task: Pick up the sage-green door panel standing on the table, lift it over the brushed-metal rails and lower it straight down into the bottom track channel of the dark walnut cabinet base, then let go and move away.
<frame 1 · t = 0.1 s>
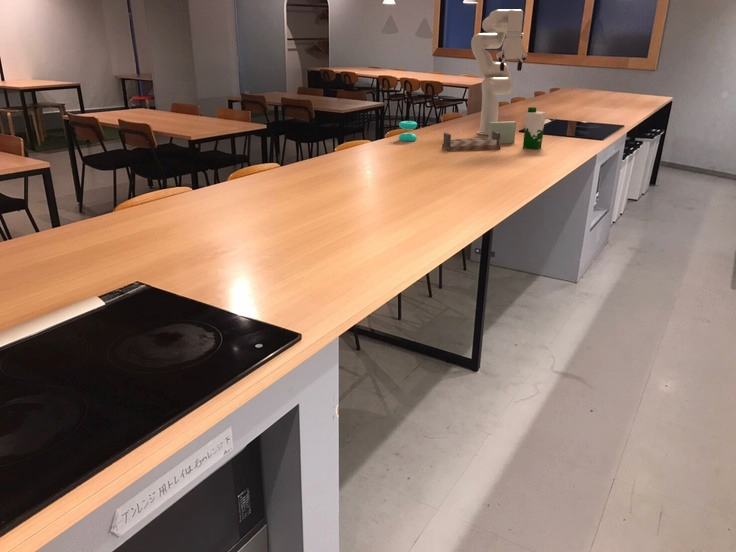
hand: (510, 70, 306), 37 cm above the kitchen counter, tool pointing down, fingers open, 9 cm apart
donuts: (407, 140, 323), on the kitchen counter
track base: (470, 148, 300), on the kitchen counter
milk carton: (532, 148, 302), on the kitchen counter
door panel: (501, 142, 315), on the kitchen counter
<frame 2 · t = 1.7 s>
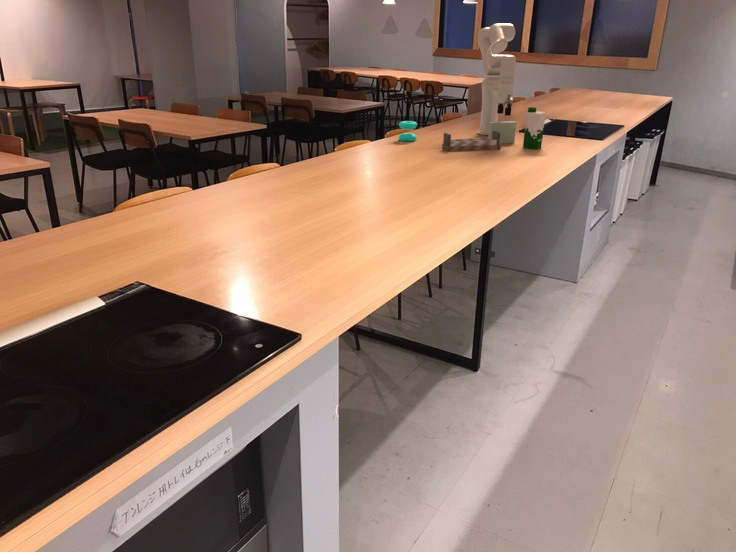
hand: (503, 114, 309), 15 cm above the kitchen counter, tool pointing down, fingers open, 9 cm apart
nothing on the kitchen counter moved.
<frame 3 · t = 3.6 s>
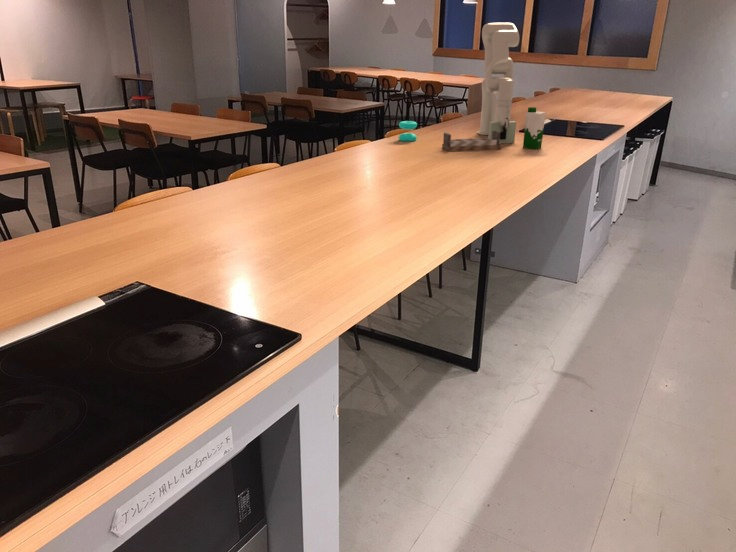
hand: (501, 138, 315), 2 cm above the kitchen counter, tool pointing down, fingers closed on door panel, 3 cm apart
door panel: (501, 142, 315), on the kitchen counter, touching gripper
everything else where it was.
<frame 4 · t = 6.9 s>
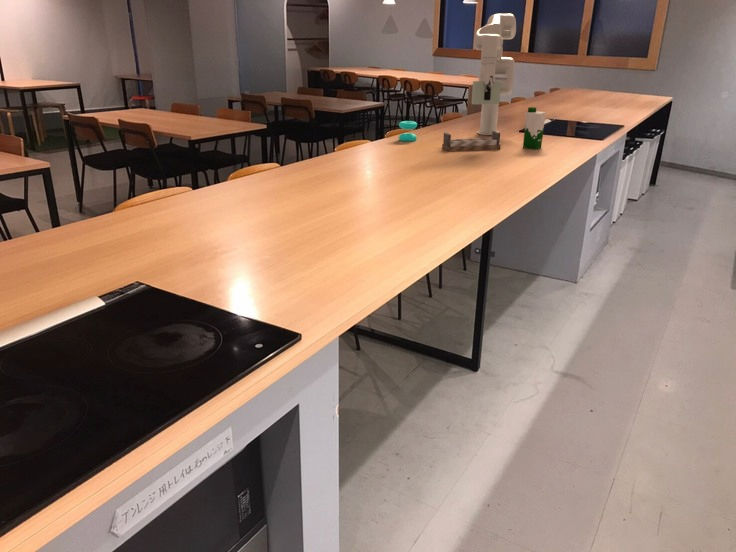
hand: (485, 99, 296), 24 cm above the kitchen counter, tool pointing down, fingers closed on door panel, 3 cm apart
door panel: (485, 103, 297), point 22 cm above the kitchen counter, touching gripper
everything else where it was.
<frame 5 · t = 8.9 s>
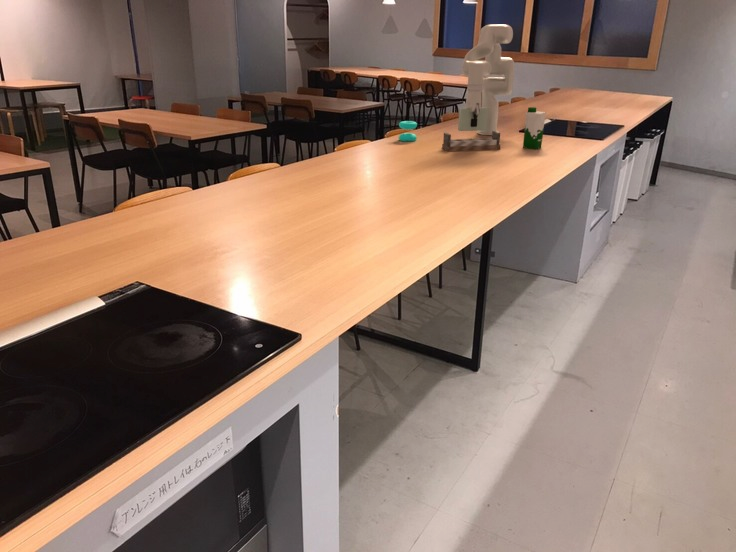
hand: (472, 125, 295), 12 cm above the kitchen counter, tool pointing down, fingers closed on door panel, 3 cm apart
door panel: (472, 130, 296), point 9 cm above the kitchen counter, touching gripper
everything else where it was.
when the fingers open (6 cm above the kitchen counter, at t = 10.3 s): door panel drops 1 cm, resting on track base.
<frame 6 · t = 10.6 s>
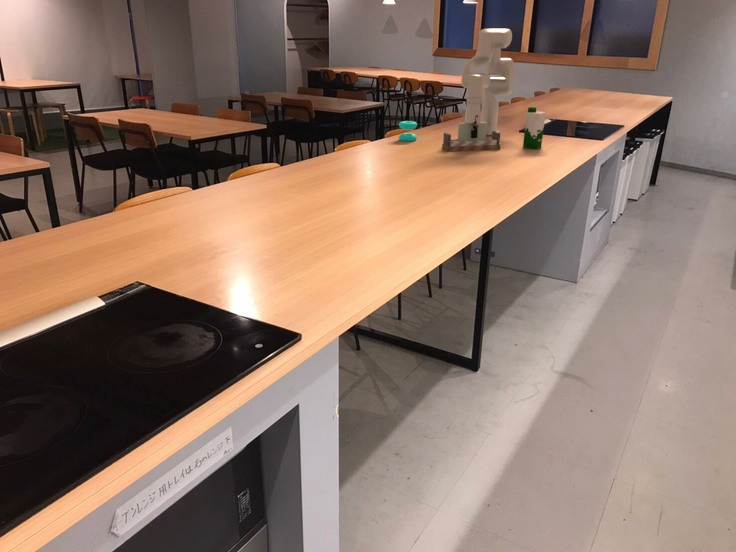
hand: (471, 136, 298), 6 cm above the kitchen counter, tool pointing down, fingers open, 5 cm apart
door panel: (471, 144, 299), point 2 cm above the kitchen counter, touching track base
everything else where it was.
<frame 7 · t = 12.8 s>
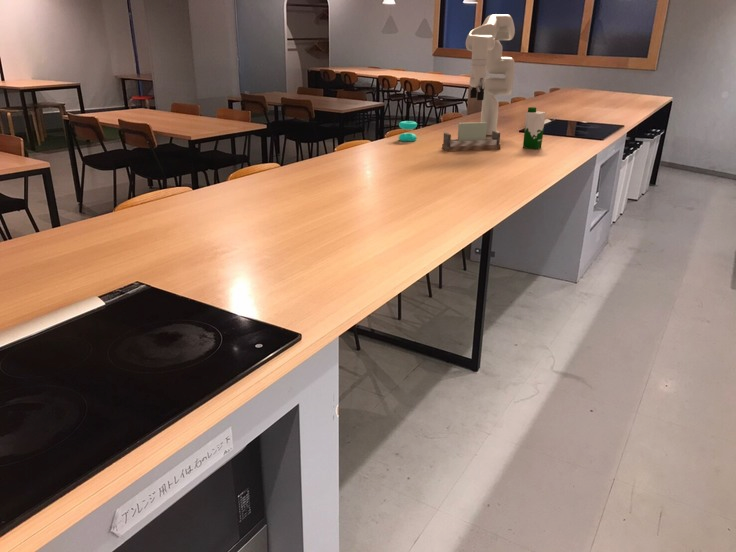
hand: (476, 99, 292), 24 cm above the kitchen counter, tool pointing down, fingers open, 9 cm apart
nothing on the kitchen counter moved.
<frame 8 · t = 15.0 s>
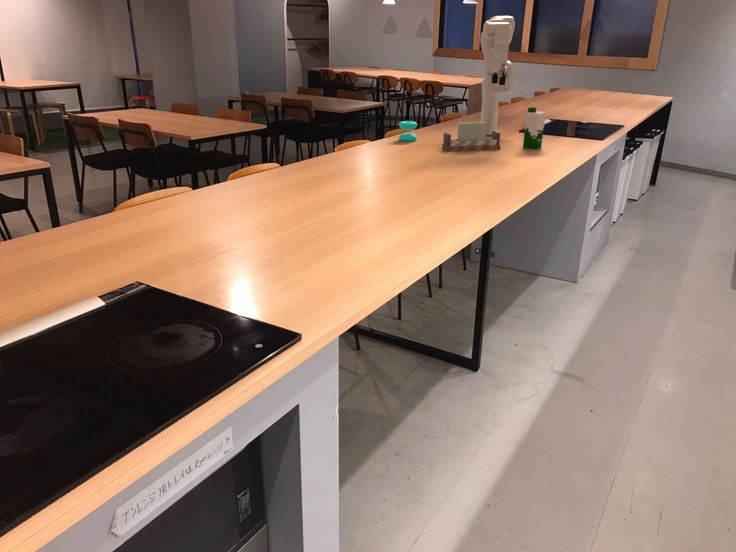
hand: (498, 84, 304), 30 cm above the kitchen counter, tool pointing down, fingers open, 9 cm apart
nothing on the kitchen counter moved.
at the end: door panel inside the target area on the track base (0.2 cm from its centre), point 2.0 cm above the track base's base; door panel tilted 0°; the gripper is holding nothing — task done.
